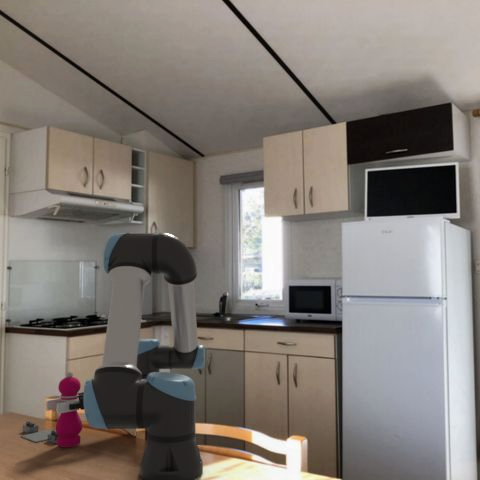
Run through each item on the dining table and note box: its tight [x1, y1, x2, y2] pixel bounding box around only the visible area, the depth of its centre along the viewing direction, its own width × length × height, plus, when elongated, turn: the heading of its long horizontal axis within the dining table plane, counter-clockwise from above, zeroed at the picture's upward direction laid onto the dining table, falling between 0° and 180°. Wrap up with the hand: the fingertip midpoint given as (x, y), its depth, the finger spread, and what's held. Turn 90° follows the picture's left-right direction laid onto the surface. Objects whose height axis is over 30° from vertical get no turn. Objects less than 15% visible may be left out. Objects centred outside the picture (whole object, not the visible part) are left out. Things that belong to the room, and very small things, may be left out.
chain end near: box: [47, 429, 59, 445], centre depth 160 cm, size 4×3×3 cm
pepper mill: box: [54, 371, 83, 448], centre depth 156 cm, size 7×7×20 cm
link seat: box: [20, 429, 53, 444], centre depth 165 cm, size 9×9×1 cm
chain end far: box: [22, 421, 40, 435], centre depth 170 cm, size 4×3×3 cm
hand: (52, 407), depth 152 cm, fingers closed on pepper mill, 5 cm apart
